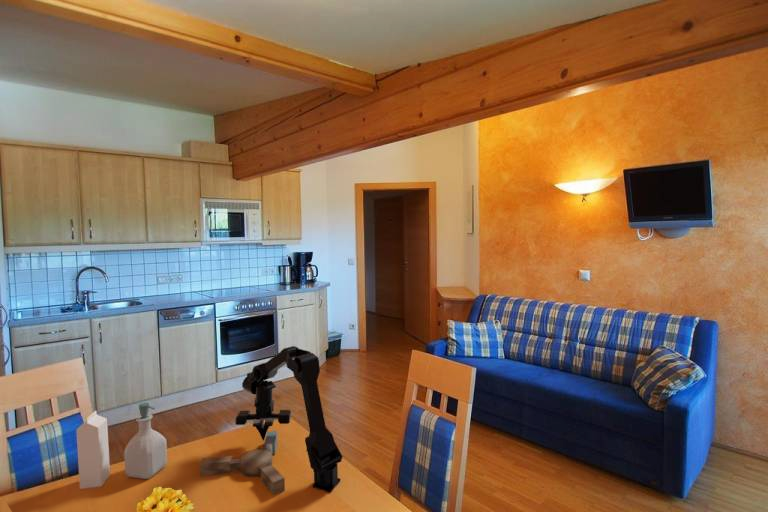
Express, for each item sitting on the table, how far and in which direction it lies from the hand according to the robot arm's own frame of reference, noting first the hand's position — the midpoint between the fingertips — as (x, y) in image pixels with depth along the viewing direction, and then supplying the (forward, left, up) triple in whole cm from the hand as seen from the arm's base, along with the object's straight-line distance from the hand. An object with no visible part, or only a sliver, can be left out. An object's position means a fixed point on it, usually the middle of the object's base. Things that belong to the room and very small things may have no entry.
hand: (263, 439), depth 149 cm
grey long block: (-4, +1, -3) cm, 4 cm away
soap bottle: (+26, +27, -3) cm, 37 cm away
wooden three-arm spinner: (-7, +14, -3) cm, 16 cm away
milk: (+36, +37, -3) cm, 51 cm away
